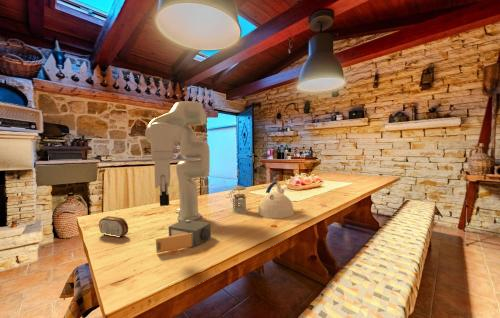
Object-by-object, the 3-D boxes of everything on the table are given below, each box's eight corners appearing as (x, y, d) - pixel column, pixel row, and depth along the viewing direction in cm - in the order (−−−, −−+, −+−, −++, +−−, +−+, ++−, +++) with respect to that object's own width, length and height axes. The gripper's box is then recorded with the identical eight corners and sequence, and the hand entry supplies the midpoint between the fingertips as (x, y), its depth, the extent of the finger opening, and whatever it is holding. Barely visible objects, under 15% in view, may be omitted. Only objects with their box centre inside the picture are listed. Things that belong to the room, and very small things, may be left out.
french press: (241, 214, 119) (240, 170, 117) (225, 212, 125) (224, 170, 124) (251, 210, 127) (249, 168, 126) (235, 207, 133) (234, 168, 132)
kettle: (299, 210, 124) (298, 180, 123) (285, 221, 106) (284, 185, 105) (268, 206, 134) (267, 178, 134) (251, 215, 117) (250, 183, 116)
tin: (129, 236, 93) (128, 217, 93) (123, 239, 90) (121, 220, 90) (104, 233, 98) (103, 215, 97) (98, 235, 95) (96, 217, 95)
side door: (156, 253, 75) (155, 240, 75) (156, 252, 76) (156, 238, 76) (193, 246, 79) (193, 233, 79) (193, 245, 81) (192, 232, 81)
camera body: (168, 241, 86) (167, 225, 86) (185, 232, 95) (184, 217, 95) (198, 247, 80) (197, 230, 80) (213, 237, 89) (212, 221, 89)
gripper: (152, 156, 84) (155, 202, 85) (149, 157, 70) (152, 211, 71) (172, 155, 87) (174, 200, 87) (173, 156, 73) (175, 208, 73)
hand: (164, 205), depth 79 cm, fingers closed
